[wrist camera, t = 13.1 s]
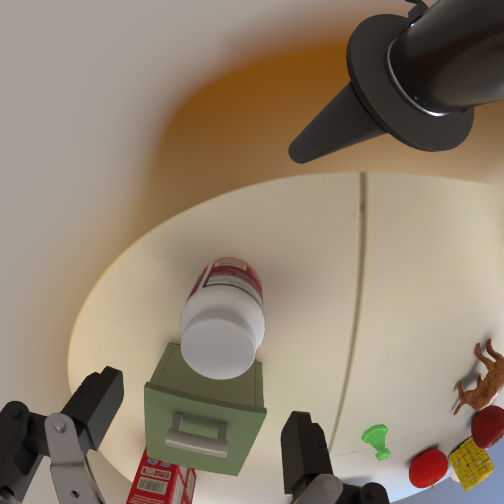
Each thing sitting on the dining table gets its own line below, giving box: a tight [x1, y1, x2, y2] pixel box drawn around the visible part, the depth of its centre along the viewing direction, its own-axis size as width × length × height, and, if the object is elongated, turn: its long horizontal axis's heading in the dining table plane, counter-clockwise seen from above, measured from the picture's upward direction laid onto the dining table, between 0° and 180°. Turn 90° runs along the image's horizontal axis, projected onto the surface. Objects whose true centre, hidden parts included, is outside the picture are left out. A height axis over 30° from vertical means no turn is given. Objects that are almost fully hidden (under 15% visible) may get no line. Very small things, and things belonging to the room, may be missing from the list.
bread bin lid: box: [144, 382, 267, 476], centre depth 20 cm, size 13×11×4 cm
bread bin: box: [150, 343, 264, 408], centre depth 26 cm, size 12×11×8 cm
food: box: [449, 437, 495, 491], centre depth 31 cm, size 15×12×10 cm
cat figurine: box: [453, 339, 504, 415], centre depth 24 cm, size 18×7×14 cm, turn 0°
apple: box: [471, 405, 504, 449], centre depth 29 cm, size 10×10×10 cm
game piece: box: [362, 424, 391, 460], centre depth 30 cm, size 4×4×6 cm
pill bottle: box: [179, 259, 265, 379], centre depth 21 cm, size 6×6×11 cm
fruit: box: [409, 450, 448, 489], centre depth 32 cm, size 9×9×10 cm
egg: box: [450, 467, 460, 482], centre depth 37 cm, size 6×6×8 cm
